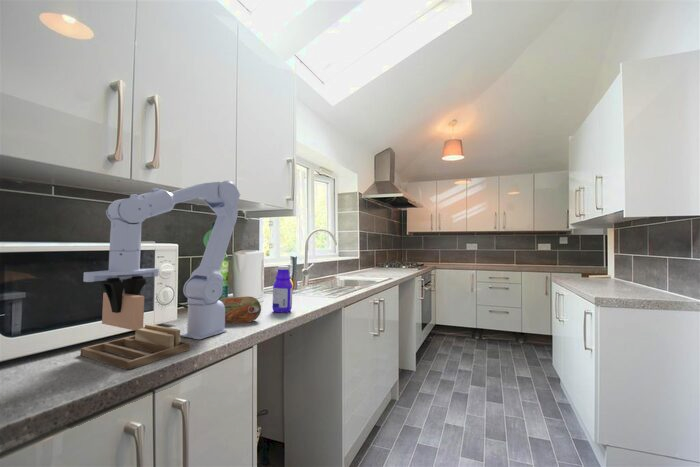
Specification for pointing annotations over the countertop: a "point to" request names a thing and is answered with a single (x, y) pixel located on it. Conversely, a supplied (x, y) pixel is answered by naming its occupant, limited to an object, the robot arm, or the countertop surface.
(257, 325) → the countertop surface
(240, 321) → the tin
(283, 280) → the bottle
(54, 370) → the countertop surface
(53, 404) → the countertop surface
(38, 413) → the countertop surface
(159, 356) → the rack
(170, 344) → the offcuts
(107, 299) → the block
